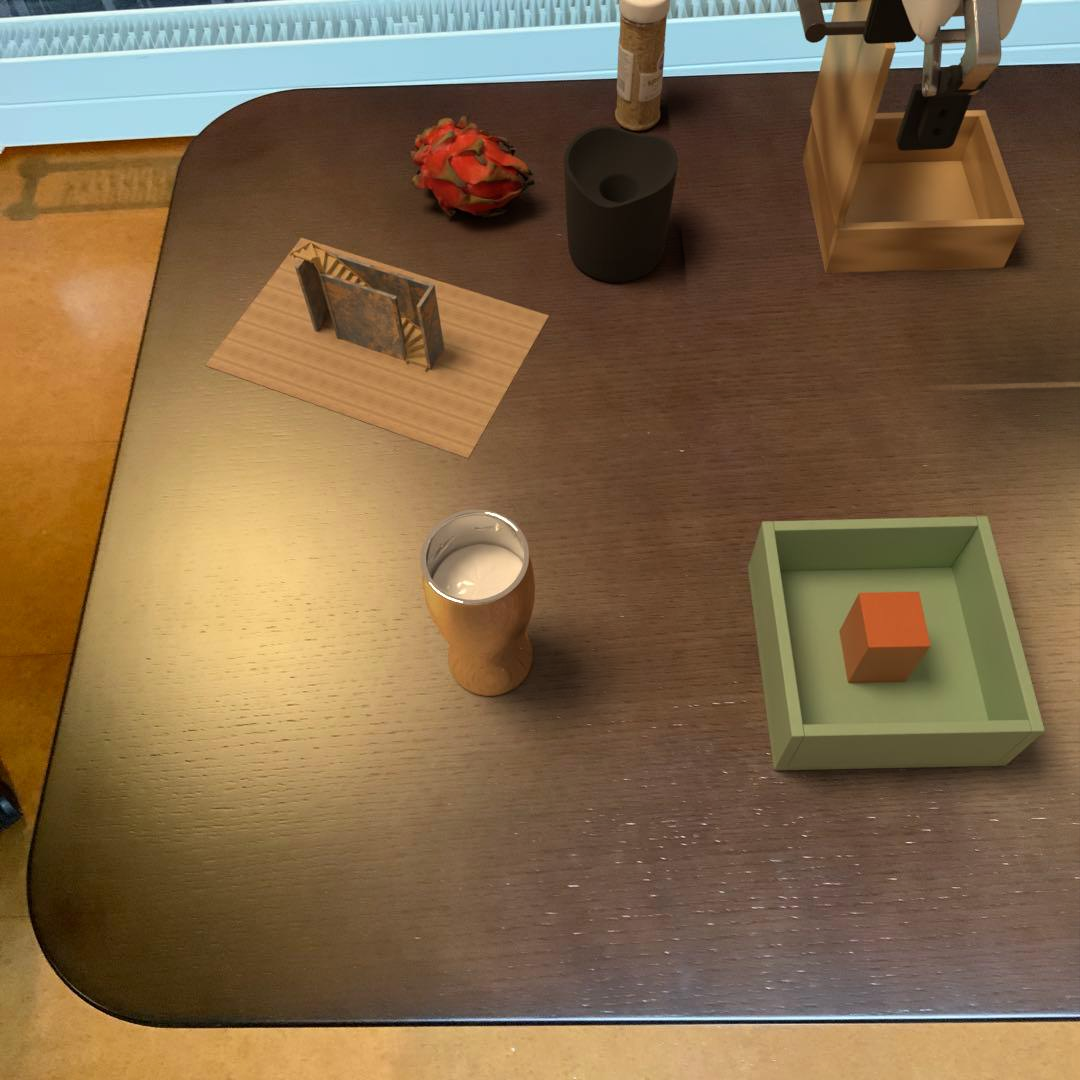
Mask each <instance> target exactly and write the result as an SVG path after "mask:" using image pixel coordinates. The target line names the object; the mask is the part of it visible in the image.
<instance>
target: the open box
mask: <svg viewBox="0 0 1080 1080" xmlns="http://www.w3.org/2000/svg"><path fill="white" fill-rule="evenodd" d="M989 520H990V519H989V517H988V516H987V515H977V516H973V515H972V516H970V515H969V516H938V517H937V516H935V517H932V516H931V517H929V516H927V517H894V518H893V517H892V518H891V517H890V518H889V517H888V518H886V517H885V518H849V519H848V518H847V519H807V520H774V521H773V520H768V521H767V520H766V521H765V520H764V521H761V524H760V527H759V530H758V533H757V537H756V540H755V544H754V547H753V550H752V552H751V557H750V560H749V562H748V565H747V573H748V574H747V575H748V581H749V589H750V590H749V591H750V597H751V598H750V599H751V604H752V613H753V619H754V620H753V621H754V628H755V636H756V643H757V651H758V659H759V660H758V661H759V667H760V675H761V684H762V691H763V699H764V706H765V714H766V715H765V716H766V720H767V722H766V723H767V730H768V737H769V744H770V745H769V746H770V751H771V752H770V754H771V759H772V760H771V761H772V769H773V771H812V770H814V771H815V770H856V769H857V770H859V769H862V770H863V769H907V768H908V769H909V768H911V769H912V768H914V769H915V768H957V767H959V768H960V767H961V768H963V767H1003V766H1004V767H1005V766H1007V765H1008V764H1009V763H1010V762H1011V761H1012V760H1014V759H1015V758H1016V757H1017V756H1019V754H1020V753H1022V752H1023V751H1024V750H1025V749H1026V748H1027V747H1029V746H1030V745H1031V744H1032V743H1033V742H1034V741H1036V740H1037V739H1038V738H1039V737H1040V736H1041V735H1043V734H1044V733H1045V731H1046V729H1045V726H1044V722H1043V719H1042V715H1041V711H1040V707H1039V703H1038V700H1037V697H1036V693H1035V689H1034V684H1033V681H1032V677H1031V674H1030V670H1029V666H1028V663H1027V659H1026V655H1025V651H1024V647H1023V644H1022V640H1021V635H1020V633H1019V629H1018V624H1017V621H1016V618H1015V614H1014V609H1013V606H1012V603H1011V599H1010V595H1009V591H1008V587H1007V584H1006V580H1005V576H1004V573H1003V570H1002V565H1001V561H1000V557H999V553H998V550H997V546H996V542H995V539H994V536H993V532H992V527H991V524H990V521H989ZM871 592H919V593H920V598H921V603H922V608H923V612H924V617H925V622H926V626H927V631H928V636H929V640H930V645H931V647H930V648H929V649H928V651H927V652H926V653H925V655H924V656H923V658H922V659H921V660H920V662H919V663H918V665H917V666H916V667H915V669H914V670H913V672H912V673H911V674H910V676H909V677H908V678H907V680H906V681H905V682H860V683H848V681H847V675H846V669H845V663H844V657H843V651H842V645H841V639H840V633H839V630H840V629H841V627H842V625H843V623H844V621H845V619H846V617H847V615H848V613H849V611H850V609H851V607H852V606H853V604H854V602H855V600H856V598H857V596H858V594H859V593H871Z"/></svg>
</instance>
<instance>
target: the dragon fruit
mask: <svg viewBox="0 0 1080 1080" xmlns="http://www.w3.org/2000/svg"><path fill="white" fill-rule="evenodd" d="M468 120H469V117H467V116H466V115H461V117H460V118H459V122H458V124H456V123H455V121H454V120H453V119H452V118H451V117H443V118H442V119H439V120H438V121H437V125H431V126H429V127H425V128H424V130H423V131H422V133H420V134H416V137H415V139H414V147H415V149H416V150H417V151H415V150H414V148H411V149H410V158H411V161H412V163H413V164H414V165H416V166H418V167H419V170H417V172H416V174H415V175H414V176H413V177H412V179H411V180H410V183H411V184H412V185H413V186H414V188H415V190H417V191H419V190H421V191H422V190H426V189H430V191H431V192H432V194H433V195H434V197H435V198H436V200H437V202H438V205H439V208H441V210H442V211H443V212H444V214H445V215H446V216H448V217H453V216H454V215H455V214H456V212H457V210H455V209H458V210H460V211H463V212H468V213H471V214H472V215H473V216H481V217H482V218H488V217H489V218H490V217H495V216H498V215H502V214H503V215H504V214H505V213H506V212H508V210H507V209H502V207H504V206H505V205H506V204H507V203H509V202H510V201H511V200H513V199H515V198H522V197H523V194H524V191H526V190H527V189H528V187H529V186H534V185H535V180H534V179H533V178H532V179H530V180H529V177H530V176H533V175H534V172H533V171H531V169H530V168H529V166H528V164H527V162H525V161H524V160H522V159H520V158H518V157H516V156H514V155H515V153H516V152H518V149H517V148H516V146H514V145H513V144H510V142H509V139H507V138H506V137H504V136H503V137H502V136H494V135H490V134H489V132H488V130H487V129H479V126H478V125H477V123H474V122H471V121H470V122H469V123H468ZM499 143H502V145H503V146H504V147H506V148H507V150H505V149H501V148H500V146H499Z"/></svg>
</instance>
